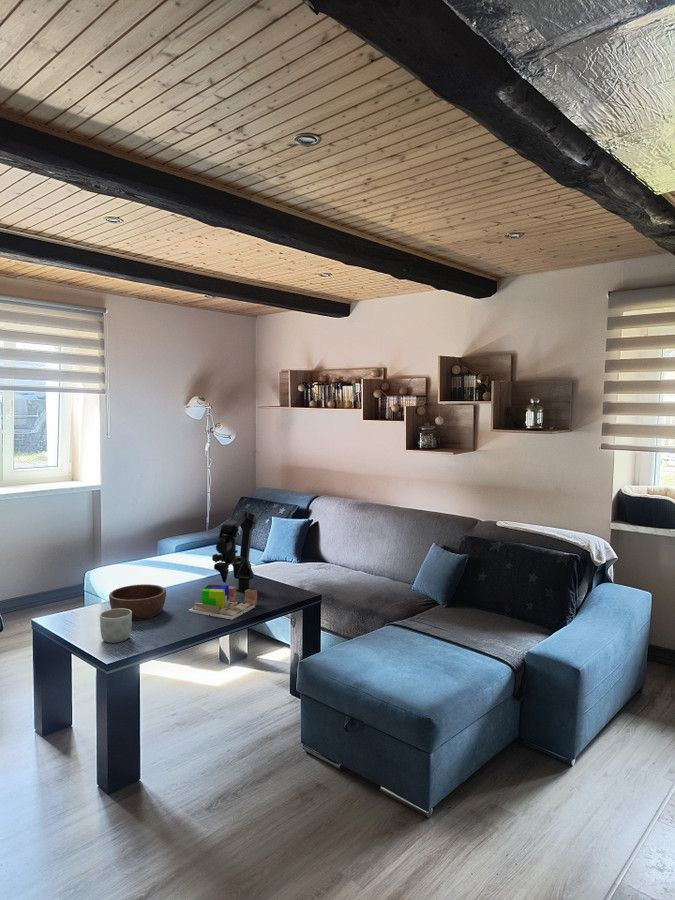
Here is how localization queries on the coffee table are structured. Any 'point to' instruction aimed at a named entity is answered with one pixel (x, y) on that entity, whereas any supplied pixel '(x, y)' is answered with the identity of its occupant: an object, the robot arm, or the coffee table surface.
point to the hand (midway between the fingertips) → (229, 580)
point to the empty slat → (249, 601)
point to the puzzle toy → (216, 595)
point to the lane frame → (222, 613)
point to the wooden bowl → (139, 600)
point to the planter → (116, 625)
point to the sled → (216, 608)
